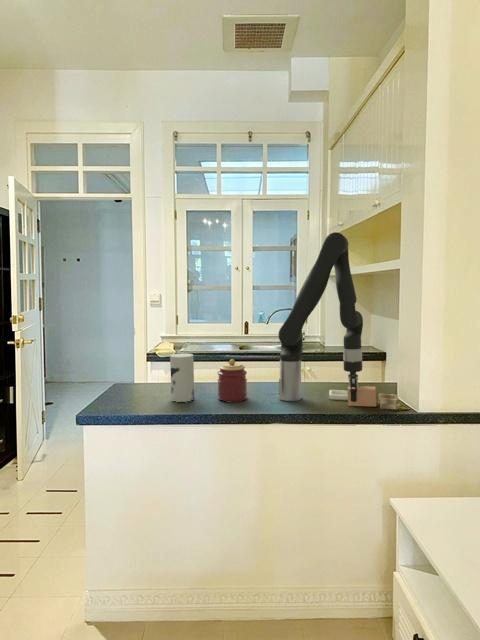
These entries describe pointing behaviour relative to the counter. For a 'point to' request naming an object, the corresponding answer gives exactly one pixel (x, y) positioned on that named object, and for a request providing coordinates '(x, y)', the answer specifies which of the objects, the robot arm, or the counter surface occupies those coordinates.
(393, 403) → the dock
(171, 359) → the container
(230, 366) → the canister
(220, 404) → the counter surface
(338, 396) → the tray
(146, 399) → the counter surface
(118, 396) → the counter surface
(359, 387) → the block
